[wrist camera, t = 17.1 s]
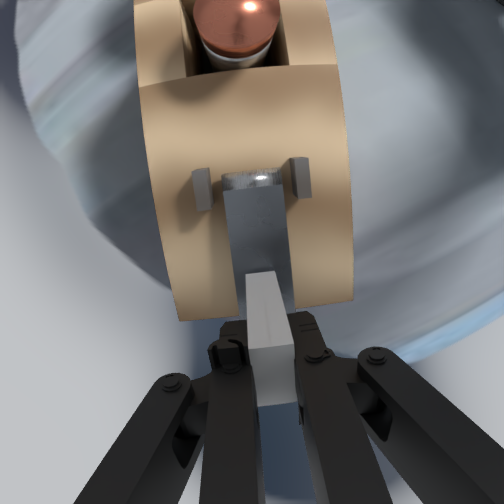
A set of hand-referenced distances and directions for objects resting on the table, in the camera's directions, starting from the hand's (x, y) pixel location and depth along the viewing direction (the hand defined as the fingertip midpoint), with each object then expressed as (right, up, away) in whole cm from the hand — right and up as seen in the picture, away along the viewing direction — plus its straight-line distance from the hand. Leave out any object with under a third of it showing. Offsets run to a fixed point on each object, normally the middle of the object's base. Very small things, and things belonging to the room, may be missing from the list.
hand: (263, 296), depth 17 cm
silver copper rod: (-2, +18, +8) cm, 20 cm away
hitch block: (-1, +13, +12) cm, 18 cm away
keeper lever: (0, +2, +1) cm, 3 cm away
